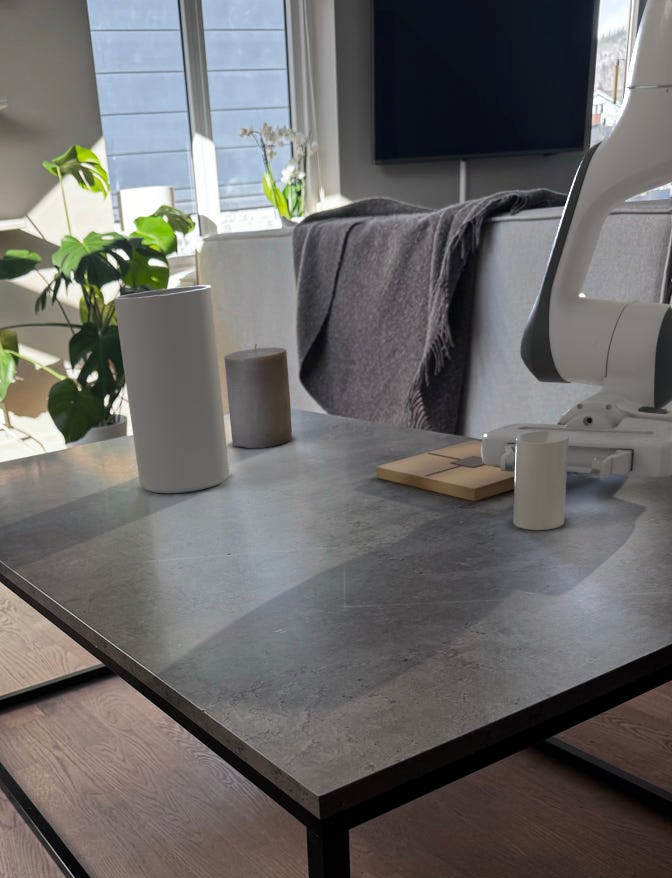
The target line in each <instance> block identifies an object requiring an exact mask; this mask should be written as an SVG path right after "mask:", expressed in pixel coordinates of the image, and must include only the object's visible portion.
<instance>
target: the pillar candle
mask: <svg viewBox="0 0 672 878" xmlns="http://www.w3.org/2000/svg"><path fill="white" fill-rule="evenodd" d="M257 346H258V343H255V344H254V348H251V349H243V350H238V351H234V352H231V353H228V354H225V355H224V356H223V359H224V368H225V369H224V370H225V377H226V390H227V401H228V402H227V403H228V411H229V422H230V433H231V442H232V446H233V447H240V448H247V449H263V448H271V447H275V446H280V445H283V444H286V443H287V442H290V441H292V440H293V431H292V429H293V428H292V411H291V408H292V407H291V393H290V380H289V377H290V376H289V365H288V356H287V349H286V348H284V347H259V348H257Z"/></svg>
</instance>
